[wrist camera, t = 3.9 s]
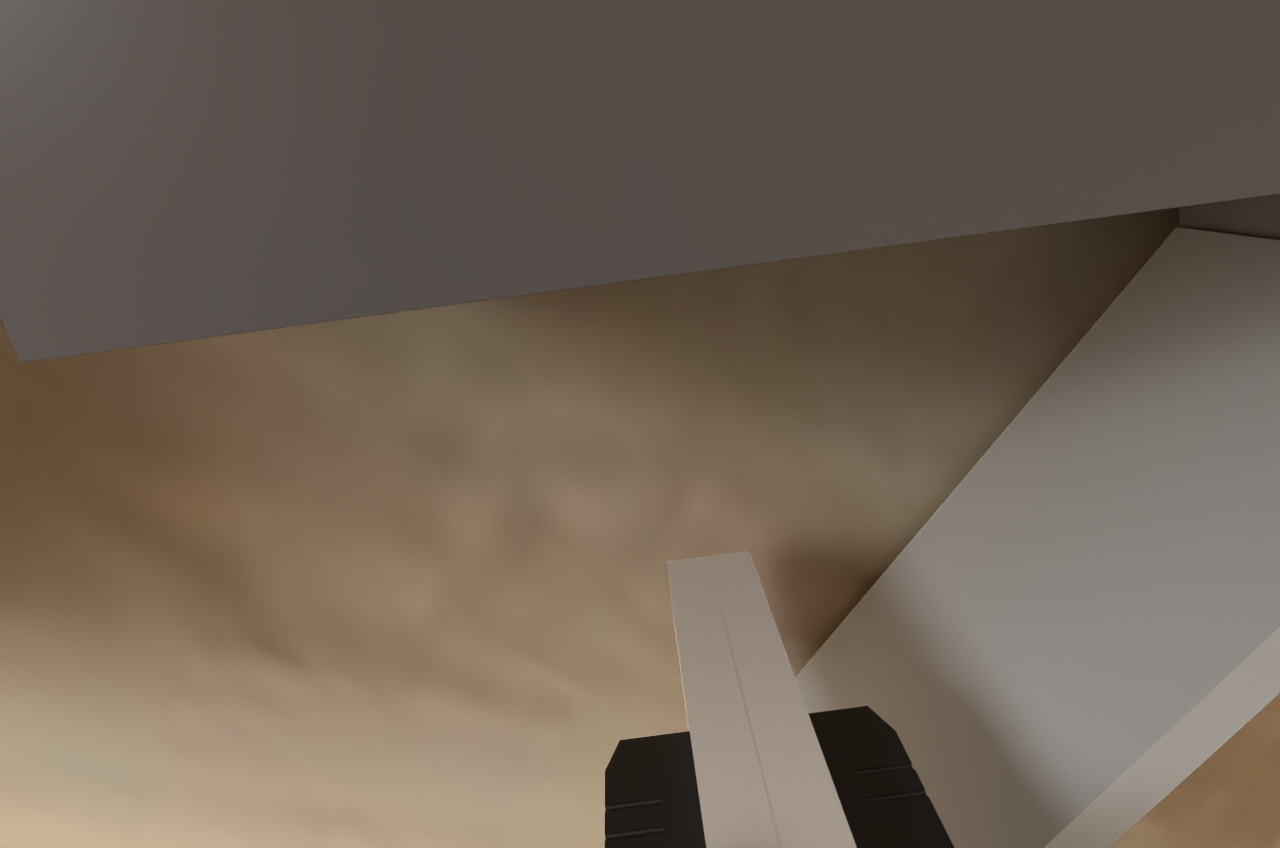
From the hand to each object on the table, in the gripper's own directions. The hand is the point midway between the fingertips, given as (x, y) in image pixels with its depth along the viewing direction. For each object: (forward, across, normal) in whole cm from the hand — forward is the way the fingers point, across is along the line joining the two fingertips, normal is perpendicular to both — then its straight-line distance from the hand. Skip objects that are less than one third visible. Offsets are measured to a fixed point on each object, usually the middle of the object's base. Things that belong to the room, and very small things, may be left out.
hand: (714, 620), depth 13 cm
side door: (+2, +7, +1) cm, 7 cm away
